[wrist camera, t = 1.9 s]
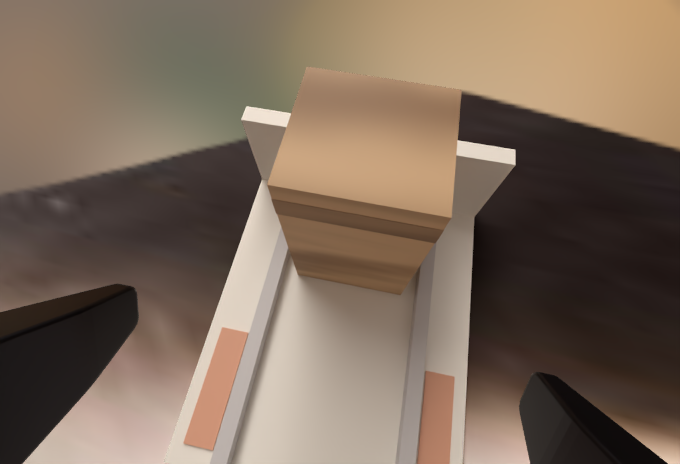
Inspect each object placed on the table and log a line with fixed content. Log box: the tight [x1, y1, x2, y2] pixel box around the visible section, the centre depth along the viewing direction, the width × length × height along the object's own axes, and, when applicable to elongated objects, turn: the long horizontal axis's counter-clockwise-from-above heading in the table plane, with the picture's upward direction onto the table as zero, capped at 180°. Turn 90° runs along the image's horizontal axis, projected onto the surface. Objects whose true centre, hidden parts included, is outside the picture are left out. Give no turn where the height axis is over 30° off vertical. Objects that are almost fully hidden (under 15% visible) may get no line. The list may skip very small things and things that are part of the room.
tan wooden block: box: [267, 67, 461, 295], centre depth 18 cm, size 6×6×10 cm
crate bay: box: [164, 106, 515, 464], centre depth 18 cm, size 18×15×7 cm
